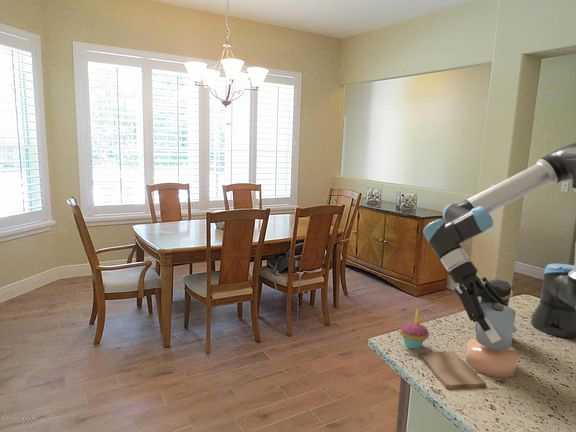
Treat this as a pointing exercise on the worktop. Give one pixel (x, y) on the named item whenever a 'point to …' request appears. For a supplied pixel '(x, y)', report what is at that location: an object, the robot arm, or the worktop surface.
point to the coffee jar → (499, 291)
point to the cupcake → (414, 333)
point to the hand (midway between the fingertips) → (505, 336)
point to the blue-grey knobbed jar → (497, 325)
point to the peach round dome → (491, 360)
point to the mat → (451, 370)
